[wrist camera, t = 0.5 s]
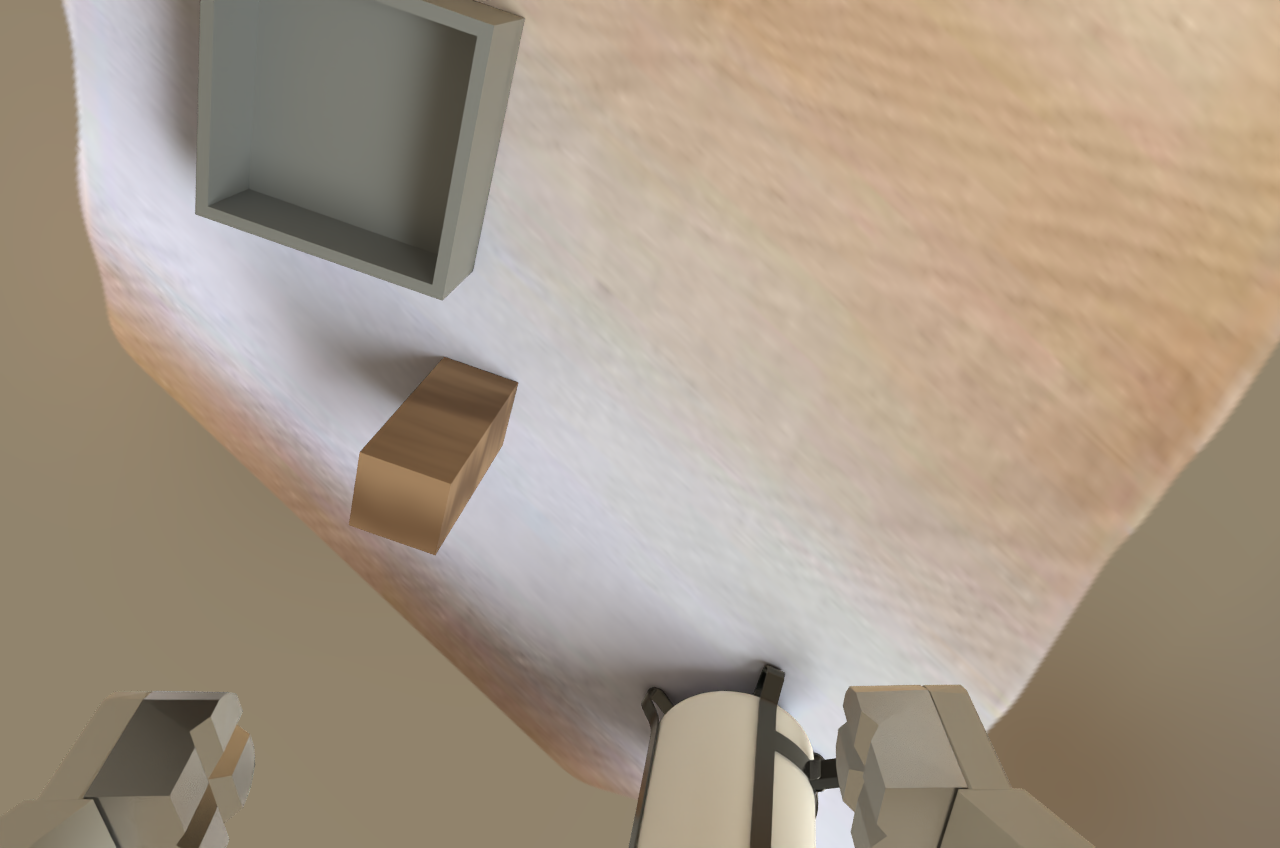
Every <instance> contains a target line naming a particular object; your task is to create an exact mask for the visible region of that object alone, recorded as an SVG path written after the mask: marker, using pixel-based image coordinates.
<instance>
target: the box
mask: <svg viewBox="0 0 1280 848" xmlns="http://www.w3.org/2000/svg"><path fill="white" fill-rule="evenodd" d="M524 20H525V18H523V17H520V16H517V15H514V14H511V13H508V12H505V11H503V10H500V9H497V8H494V7H491V6H488V5H485V4H482V3H480V2H477V1H474V0H200V33H199V76H198V119H197V161H196V204H195V214H196V215H199V216H202V217H205V218H208V219H211V220H213V221H216V222H219V223H222V224H225V225H228V226H231V227H233V228H236V229H239V230H242V231H245V232H248V233H251V234H253V235H256V236H259V237H262V238H265V239H268V240H271V241H274V242H276V243H279V244H282V245H285V246H288V247H291V248H294V249H296V250H299V251H302V252H305V253H308V254H311V255H314V256H316V257H319V258H322V259H325V260H328V261H331V262H334V263H336V264H339V265H342V266H345V267H348V268H351V269H354V270H356V271H359V272H362V273H365V274H368V275H371V276H374V277H376V278H379V279H382V280H385V281H388V282H391V283H394V284H397V285H399V286H402V287H405V288H408V289H411V290H414V291H417V292H419V293H422V294H425V295H428V296H431V297H434V298H437V299H439V300H443V299H444V298H446V297H447V296H448V295H449V294H450V293H451V292H452V291H453V290H454V289H455V288H456V287H457V286H458V285H459V284H460V283H461V282H462V281H463V280H464V279H465V278H466V277H467V276H468V275H469V274H470V273H471V272H473V268H474V263H475V258H476V254H477V249H478V244H479V239H480V234H481V229H482V224H483V219H484V215H485V210H486V205H487V200H488V195H489V190H490V185H491V181H492V176H493V171H494V166H495V161H496V156H497V151H498V146H499V142H500V137H501V132H502V127H503V122H504V117H505V112H506V107H507V103H508V98H509V93H510V88H511V83H512V78H513V73H514V69H515V64H516V59H517V54H518V49H519V44H520V39H521V34H522V30H523V25H524Z"/></svg>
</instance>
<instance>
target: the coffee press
mask: <svg viewBox="0 0 1280 848" xmlns="http://www.w3.org/2000/svg"><path fill="white" fill-rule="evenodd" d="M784 677H785V673H784V672H783V671H781V670H778V669H776V668H773V667H771V666H769V665H766V666H765V667H764V668H763V670H762V672H761V675H760V678H759V681H758V683H757V686H756V689H755V691H754V693H753V695H751V694H746V693H741V692H733V691H715V692H707V693H702V694H699V695H695V696H692V697H690V698H687V699H685V700H683V701H682V702H680V703H678V704H677V705H675V706H674V705H673V704H672V703H671V701H670V700H669V698H668V697H667V696H666V694H665V693H664V692H663V691H662V690H661V689H659V688H656V687H653V688H650V689H649V690H648V692H647V694H646V695H645V697H644V699H643V701H642V703H641V705H642V708H643V710H644V713H645V715H646V717H647V719H648V721H649V724H650V727H651V736H650V742H649V747H648V752H647V757H646V763H645V768H644V773H643V778H642V783H641V788H640V793H639V798H638V803H637V808H636V813H635V818H634V823H633V828H632V833H631V838H630V843H629V848H816V842H815V819H816V816H817V811H818V792H822V791H824V790H826V789H830V788H839V782H838V775H837V769H836V758H835V759H827V760H824V758H823V757H822V756H821V755H819V754H817V753H813V750H812V746H811V743H810V741H809V739H808V737H807V735H806V733H805V731H804V730H803V728H802V727H801V725H800V724H799V723H798V722H797V721H796V720H795V719H794V718H793V717H792V716H791V715H790V714H789V713H788V712H786V711H785V710H784V709H782V708H781V707H779V706H777V704H778V700H779V696H780V692H781V689H782V685H783V682H784ZM652 700H653V701H654V702H656V703H657V705H658V706H659V707H660V709H661V710H662V712H663V713H664V715H665V716H664V717H663V718H662V719H661V721H660V723H659V716H658V713H657V711H656V708H655V706H654V704H653V702H652ZM815 794H816V795H815Z"/></svg>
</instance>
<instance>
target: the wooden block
mask: <svg viewBox="0 0 1280 848" xmlns="http://www.w3.org/2000/svg"><path fill="white" fill-rule="evenodd" d="M517 386H518V382H515V381H512V380H509V379H507V378H504V377H501V376H498V375H495V374H492V373H489V372H487V371H484V370H481V369H478V368H475V367H472V366H469V365H467V364H464V363H461V362H458V361H455V360H452V359H449V358H446V357H444V358H443V359H442V360H441V361H440V362H439V363H438V364H437V366H436V367H435V368H434V369H433V370H432V371H431V372H430V373H429V375H428V376H427V377H426V378H425V379H424V380H423V381H422V383H421V384H420V385H419V386H418V387H417V388H416V389H415V390H414V392H413V393H412V394H411V395H410V396H409V397H408V398H407V399H406V401H405V402H404V403H403V404H402V405H401V406H400V407H399V408H398V410H397V411H396V412H395V413H394V414H393V415H392V416H391V417H390V419H389V420H388V421H387V422H386V423H385V424H384V425H383V427H382V428H381V429H380V430H379V431H378V432H377V433H376V434H375V436H374V437H373V438H372V439H371V440H370V441H369V442H368V443H367V445H366V446H365V447H364V448H363V449H362V450H361V451H360V454H359V460H358V467H357V474H356V481H355V487H354V494H353V501H352V508H351V514H350V521H349V525H350V526H353V527H356V528H359V529H361V530H364V531H367V532H370V533H373V534H376V535H379V536H382V537H384V538H387V539H390V540H393V541H396V542H399V543H402V544H404V545H407V546H410V547H413V548H416V549H419V550H422V551H424V552H427V553H430V554H433V555H436V553H437V552H438V550H439V548H440V547H441V545H442V543H443V542H444V540H445V539H446V537H447V535H448V534H449V532H450V530H451V529H452V527H453V525H454V524H455V522H456V521H457V519H458V517H459V516H460V514H461V512H462V511H463V509H464V507H465V506H466V504H467V503H468V501H469V499H470V498H471V496H472V494H473V493H474V491H475V489H476V488H477V486H478V485H479V483H480V481H481V480H482V478H483V476H484V475H485V473H486V472H487V470H488V468H489V467H490V465H491V463H492V462H493V460H494V458H495V457H496V455H497V454H498V452H499V450H500V449H501V447H502V445H503V441H504V437H505V433H506V429H507V425H508V422H509V418H510V414H511V410H512V406H513V402H514V398H515V394H516V390H517Z"/></svg>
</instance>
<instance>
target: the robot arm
mask: <svg viewBox="0 0 1280 848" xmlns="http://www.w3.org/2000/svg"><path fill="white" fill-rule="evenodd" d="M843 708H844V712H845V716H846V719H847V722H846V723H845V724H844V725H843V726H841V727H840V728H839V729H838V736H837V742H836V769H837V775H838V782H839V787H840V791H841V795H842V799H843V801H844V802H845V803H846V804H847V805H848V806H849V807H850V808H851V809H852V810H853V811H854V812H855V814H854V819H853V824H852V829H851V834H852V838H853V842H854V846H855V848H1096V847H1095V846H1093V845H1092V844H1091V843H1090V842H1088V841H1087V840H1086V839H1085V838H1084V837H1082V836H1081V835H1080V834H1078V833H1077V832H1076V831H1075V830H1074V829H1072V828H1071V827H1070V826H1069V825H1067V824H1066V823H1065V822H1064V821H1062V820H1061V819H1060V818H1059V817H1057V816H1056V815H1055V814H1054V813H1053V812H1051V811H1050V810H1049V809H1048V808H1047V807H1045V806H1044V805H1043V804H1042V803H1040V802H1039V801H1038V800H1037V799H1036V798H1034V797H1033V796H1032V795H1030V794H1029V793H1028V792H1027V791H1026V790H1024V789H1012V787H1011V785H1010V783H1009V781H1008V778H1007V776H1006V774H1005V772H1004V770H1003V767H1002V765H1001V763H1000V761H999V759H998V757H997V755H996V752H995V751H994V748H993V746H992V744H991V742H990V740H989V738H988V735H987V733H986V731H985V729H984V726H983V724H982V722H981V720H980V718H979V716H978V713H977V711H976V709H975V707H974V705H973V703H972V701H971V698H970V696H969V694H968V692H967V690H966V689H965V688H963V687H962V686H961V685H923V686H921V685H891V686H849V688H848V690H847V691H846V693H845V698H844V703H843ZM241 714H242V708H241V705H240V703H239V700H238V697H237V695H236V694H234V693H229V692H178V691H153V692H152V691H151V692H150V691H149V692H148V691H115V692H113V693H112V694H110V695H109V696H108V697H106V698H105V699H104V700H103V701H102V702H101V703H100V705H99V707H98V708H97V710H96V711H95V713H94V714H93V715H92V717H91V719H90V720H89V721H88V723H87V724H86V726H85V727H84V729H83V730H82V732H81V733H80V735H79V736H78V738H77V740H76V741H75V743H74V744H73V745H72V747H71V748H70V750H69V751H68V753H67V754H66V756H65V757H64V759H63V760H62V762H61V763H60V765H59V767H58V768H57V769H56V771H55V772H54V774H53V775H52V777H51V778H50V780H49V781H48V783H47V784H46V786H45V787H44V789H43V790H42V792H41V793H40V795H39V796H38V798H37V799H36V800H23V801H22V802H21V803H19V804H18V805H16V806H15V807H13V808H12V809H10V810H9V811H8V812H6V813H4V814H3V815H2V816H0V848H226V846H227V844H228V841H229V837H228V835H227V832H226V829H225V826H224V823H225V822H226V821H228V820H229V819H230V818H231V817H232V816H234V815H235V814H236V813H237V812H238V811H239V810H240V809H242V808H243V806H244V803H245V801H246V798H247V796H248V793H249V791H250V788H251V784H252V777H253V773H254V767H255V757H254V746H253V742H252V739H251V736H250V734H249V733H248V732H246V731H245V730H243V729H242V728H241V727H240V726H238V725H237V722H238V720H239V718H240V716H241Z"/></svg>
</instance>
